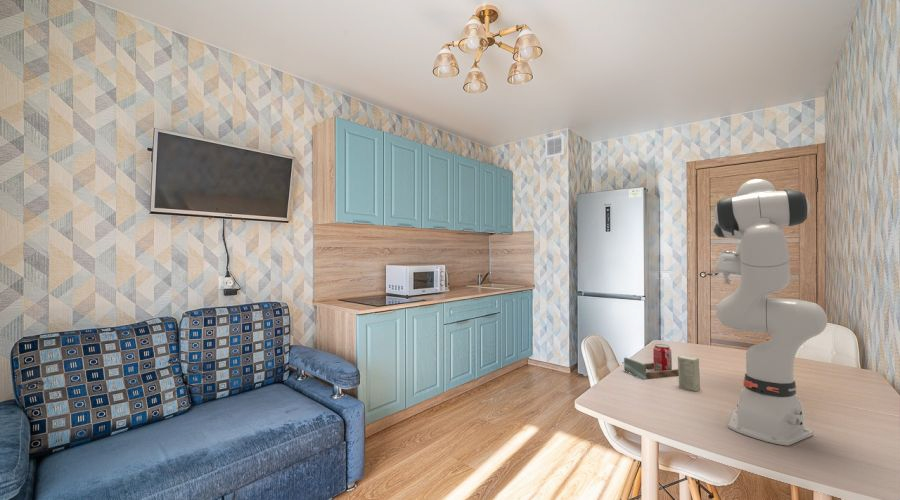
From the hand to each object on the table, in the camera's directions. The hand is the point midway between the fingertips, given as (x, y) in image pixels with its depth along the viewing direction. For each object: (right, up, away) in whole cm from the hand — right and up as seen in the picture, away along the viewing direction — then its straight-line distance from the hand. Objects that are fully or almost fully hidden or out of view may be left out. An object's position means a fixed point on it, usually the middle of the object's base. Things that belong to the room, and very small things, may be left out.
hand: (739, 285), depth 148 cm
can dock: (-28, -40, +14) cm, 51 cm away
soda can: (-22, -41, +16) cm, 49 cm away
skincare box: (-23, -40, -4) cm, 47 cm away
